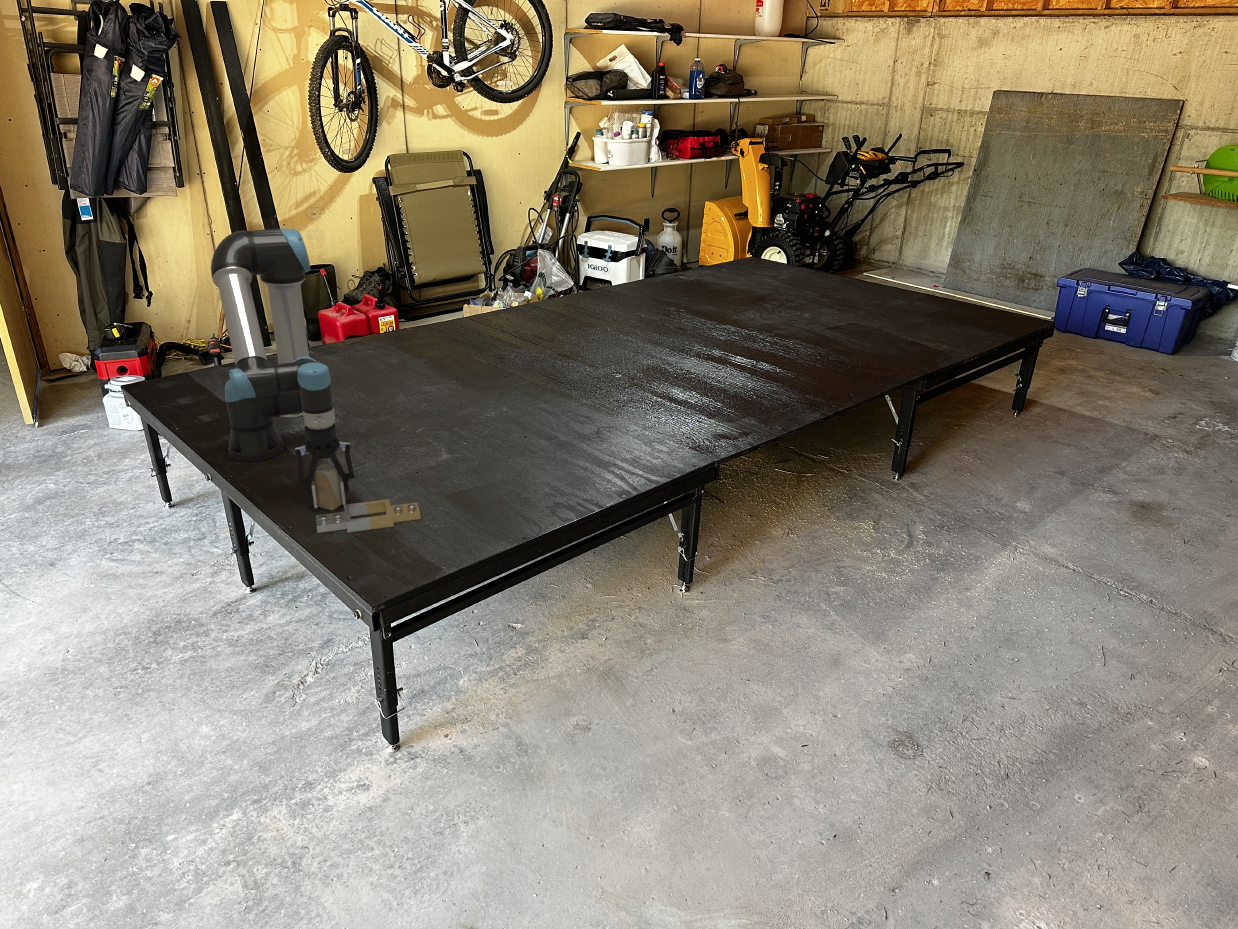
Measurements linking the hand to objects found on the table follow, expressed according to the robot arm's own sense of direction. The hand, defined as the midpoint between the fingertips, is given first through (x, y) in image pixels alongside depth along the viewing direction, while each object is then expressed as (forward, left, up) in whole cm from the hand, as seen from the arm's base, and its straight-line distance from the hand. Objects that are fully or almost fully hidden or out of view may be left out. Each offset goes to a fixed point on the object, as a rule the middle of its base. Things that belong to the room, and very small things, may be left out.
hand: (330, 503), depth 222 cm
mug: (-10, +68, -1) cm, 69 cm away
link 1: (+3, -11, 0) cm, 11 cm away
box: (0, 0, -1) cm, 1 cm away
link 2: (+15, -11, 0) cm, 19 cm away
